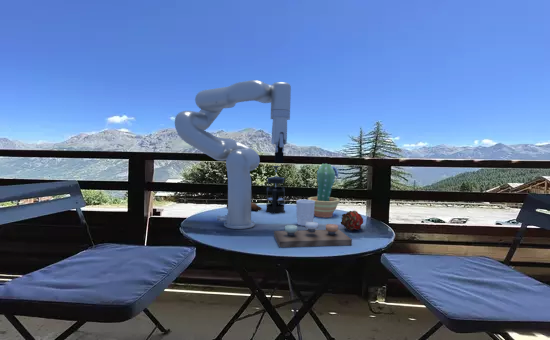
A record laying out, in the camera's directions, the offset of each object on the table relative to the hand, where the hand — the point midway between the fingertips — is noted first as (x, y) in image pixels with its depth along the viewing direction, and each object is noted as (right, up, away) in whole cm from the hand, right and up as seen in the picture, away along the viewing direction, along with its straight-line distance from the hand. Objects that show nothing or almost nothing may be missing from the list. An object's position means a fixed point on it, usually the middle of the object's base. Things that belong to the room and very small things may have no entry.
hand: (279, 162), depth 128 cm
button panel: (+11, -28, -11) cm, 32 cm away
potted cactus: (+22, -25, +30) cm, 45 cm away
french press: (-2, -24, +37) cm, 44 cm away
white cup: (+11, -26, +12) cm, 31 cm away
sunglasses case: (-17, -24, +43) cm, 52 cm away
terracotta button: (+19, -26, -10) cm, 34 cm away
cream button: (+11, -25, -12) cm, 30 cm away
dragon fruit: (+30, -27, +5) cm, 41 cm away
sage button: (+4, -26, -13) cm, 29 cm away
